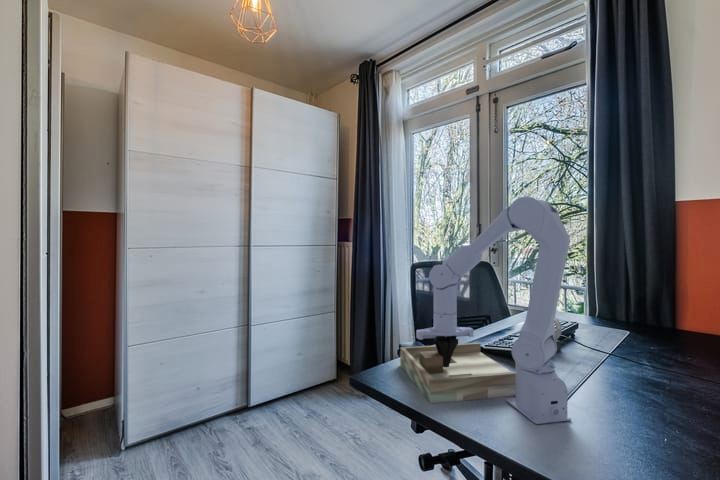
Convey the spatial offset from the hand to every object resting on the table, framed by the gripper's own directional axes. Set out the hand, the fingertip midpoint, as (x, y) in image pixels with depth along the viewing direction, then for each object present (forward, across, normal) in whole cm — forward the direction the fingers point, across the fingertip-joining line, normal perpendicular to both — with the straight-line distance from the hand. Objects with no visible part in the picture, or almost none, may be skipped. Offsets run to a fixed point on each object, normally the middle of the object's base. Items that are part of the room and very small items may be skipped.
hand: (444, 365), depth 84 cm
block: (+1, +4, 0) cm, 4 cm away
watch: (+4, -42, -15) cm, 45 cm away
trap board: (+3, -4, 0) cm, 5 cm away
